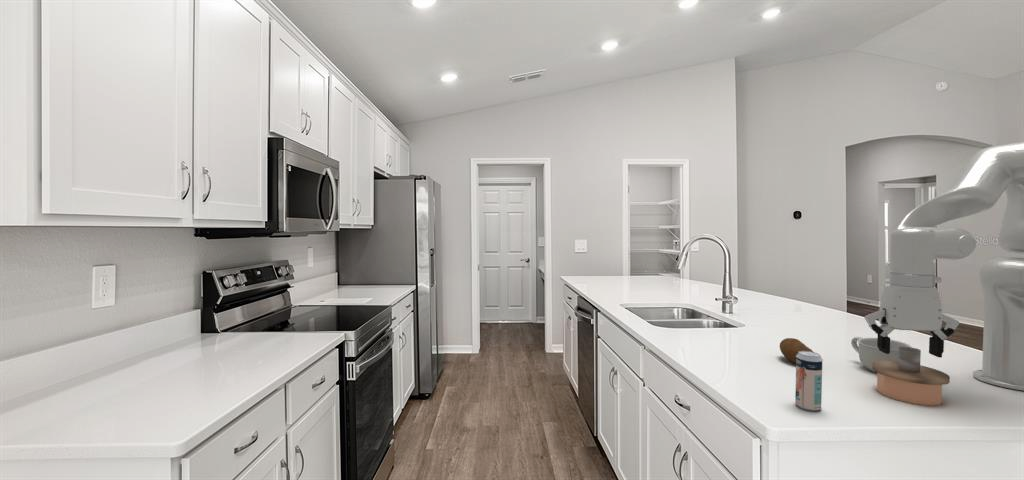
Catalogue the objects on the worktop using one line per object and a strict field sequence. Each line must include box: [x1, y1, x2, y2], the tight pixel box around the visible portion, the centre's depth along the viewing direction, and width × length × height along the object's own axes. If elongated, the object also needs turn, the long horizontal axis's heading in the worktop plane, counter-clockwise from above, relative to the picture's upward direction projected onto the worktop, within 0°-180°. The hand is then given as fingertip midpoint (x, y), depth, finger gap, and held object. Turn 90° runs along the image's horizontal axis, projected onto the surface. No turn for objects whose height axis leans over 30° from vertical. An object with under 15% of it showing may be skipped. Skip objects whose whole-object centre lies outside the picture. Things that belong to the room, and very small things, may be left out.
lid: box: [872, 346, 951, 386], centre depth 96 cm, size 13×13×6 cm
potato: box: [779, 337, 814, 365], centre depth 119 cm, size 7×12×7 cm, turn 8°
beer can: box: [794, 351, 824, 412], centre depth 90 cm, size 5×5×12 cm
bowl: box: [876, 373, 943, 407], centre depth 96 cm, size 11×11×5 cm
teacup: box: [850, 336, 912, 374], centre depth 113 cm, size 14×11×8 cm
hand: (909, 353), depth 96 cm, fingers open, 9 cm apart
